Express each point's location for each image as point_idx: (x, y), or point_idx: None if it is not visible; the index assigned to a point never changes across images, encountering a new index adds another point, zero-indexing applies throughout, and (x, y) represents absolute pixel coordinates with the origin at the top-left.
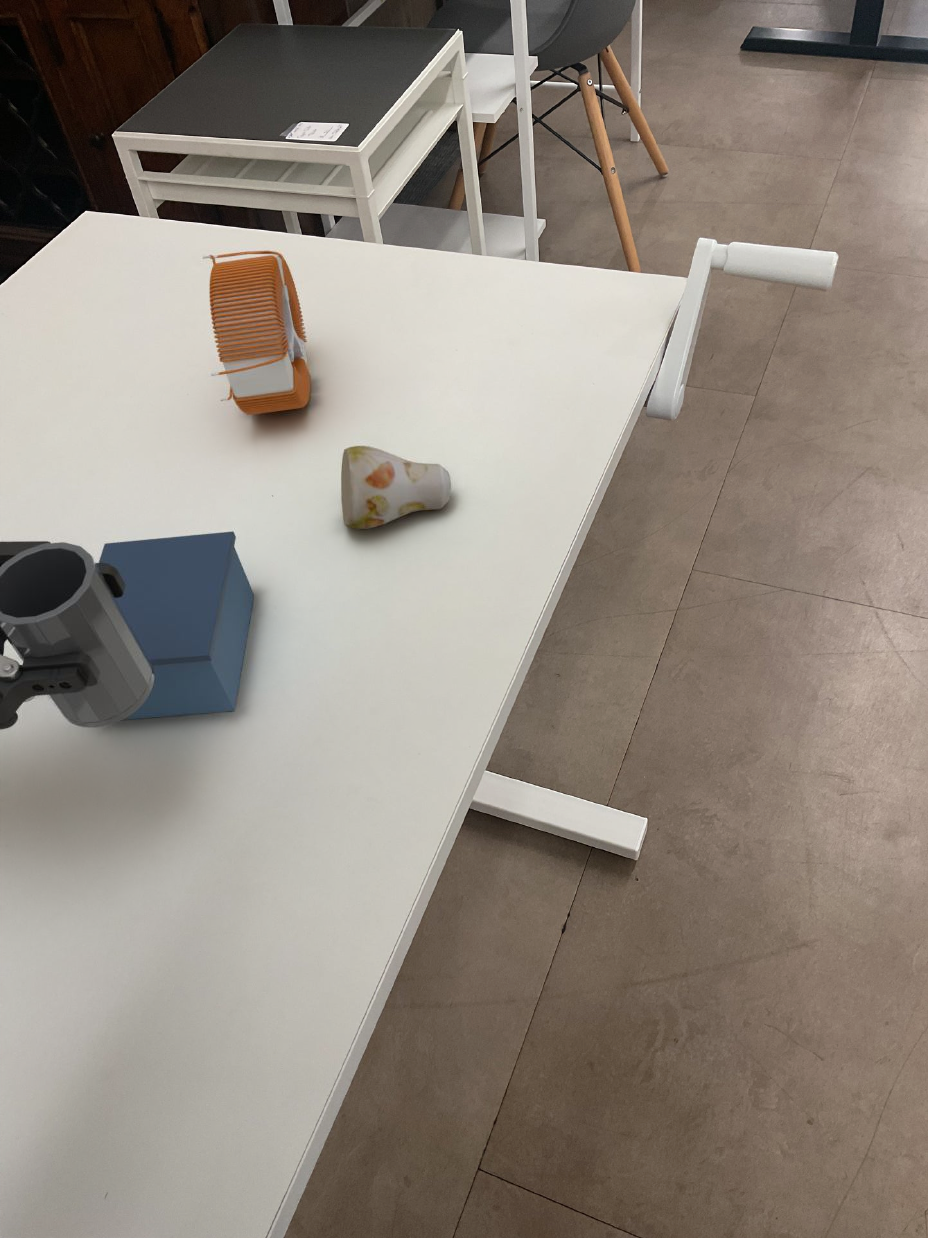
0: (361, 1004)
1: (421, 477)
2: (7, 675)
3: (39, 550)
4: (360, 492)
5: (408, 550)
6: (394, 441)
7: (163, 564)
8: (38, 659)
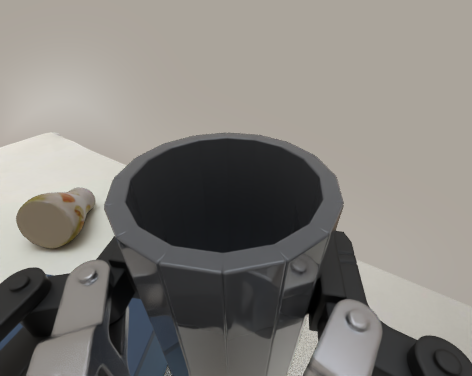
0: (393, 275)
1: (78, 192)
2: (377, 319)
3: (128, 182)
4: (67, 208)
5: (108, 225)
6: (12, 221)
7: (8, 341)
8: (326, 270)
